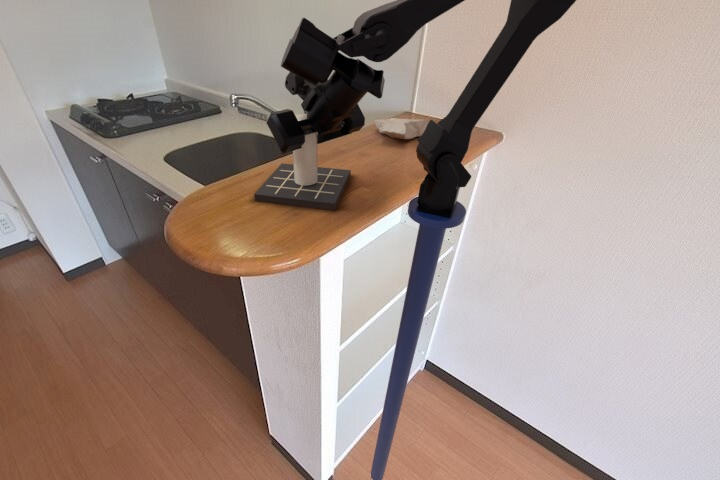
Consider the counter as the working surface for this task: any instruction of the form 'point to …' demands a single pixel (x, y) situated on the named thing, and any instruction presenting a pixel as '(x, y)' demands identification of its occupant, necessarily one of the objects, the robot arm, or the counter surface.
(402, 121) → the rock
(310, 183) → the white rounded cylinder
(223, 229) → the counter surface
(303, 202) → the game board
